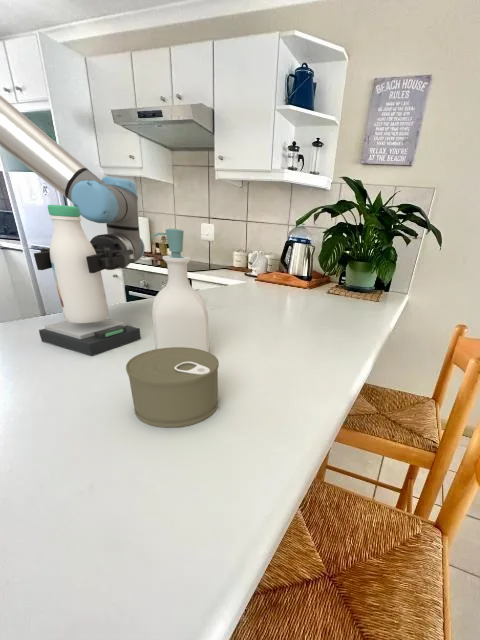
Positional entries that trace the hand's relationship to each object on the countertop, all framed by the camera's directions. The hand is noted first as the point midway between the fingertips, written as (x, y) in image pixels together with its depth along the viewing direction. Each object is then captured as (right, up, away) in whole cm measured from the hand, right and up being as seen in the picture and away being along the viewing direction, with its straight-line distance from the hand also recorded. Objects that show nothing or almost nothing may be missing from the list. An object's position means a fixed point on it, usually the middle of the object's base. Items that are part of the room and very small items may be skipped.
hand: (64, 263), depth 56 cm
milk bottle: (-1, -8, +9) cm, 12 cm away
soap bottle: (+18, -15, +8) cm, 25 cm away
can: (+23, -24, -9) cm, 35 cm away
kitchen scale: (-2, -12, +11) cm, 17 cm away
